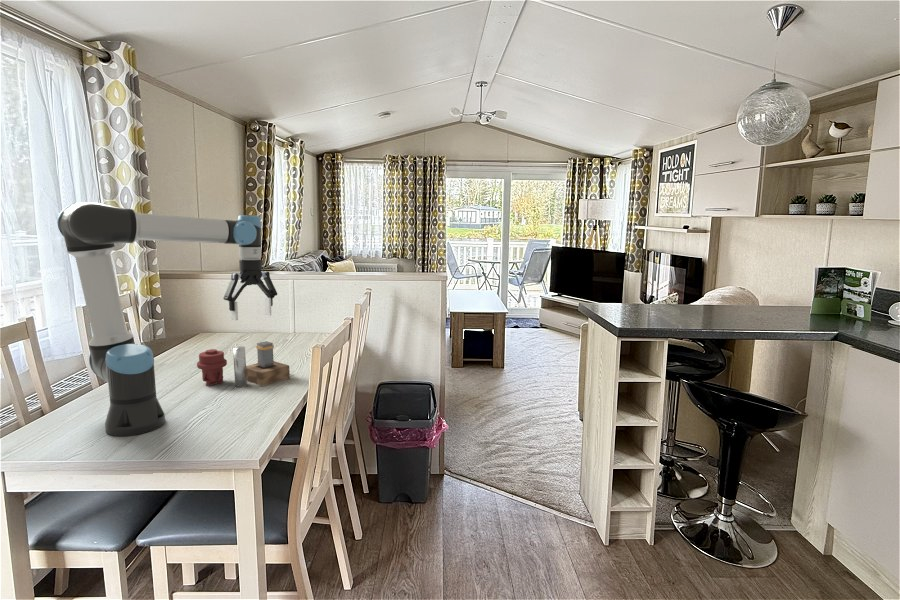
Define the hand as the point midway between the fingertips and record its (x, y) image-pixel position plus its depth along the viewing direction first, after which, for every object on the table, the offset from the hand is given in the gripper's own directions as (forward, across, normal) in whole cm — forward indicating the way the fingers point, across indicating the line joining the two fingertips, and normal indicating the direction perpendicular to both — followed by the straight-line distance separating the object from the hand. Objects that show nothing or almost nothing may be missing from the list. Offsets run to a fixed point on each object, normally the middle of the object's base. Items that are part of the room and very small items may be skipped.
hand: (252, 317), depth 193 cm
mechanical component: (+25, -9, +11) cm, 29 cm away
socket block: (+24, +6, 0) cm, 25 cm away
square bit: (+24, +6, 0) cm, 25 cm away
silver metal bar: (+25, -4, +1) cm, 25 cm away
